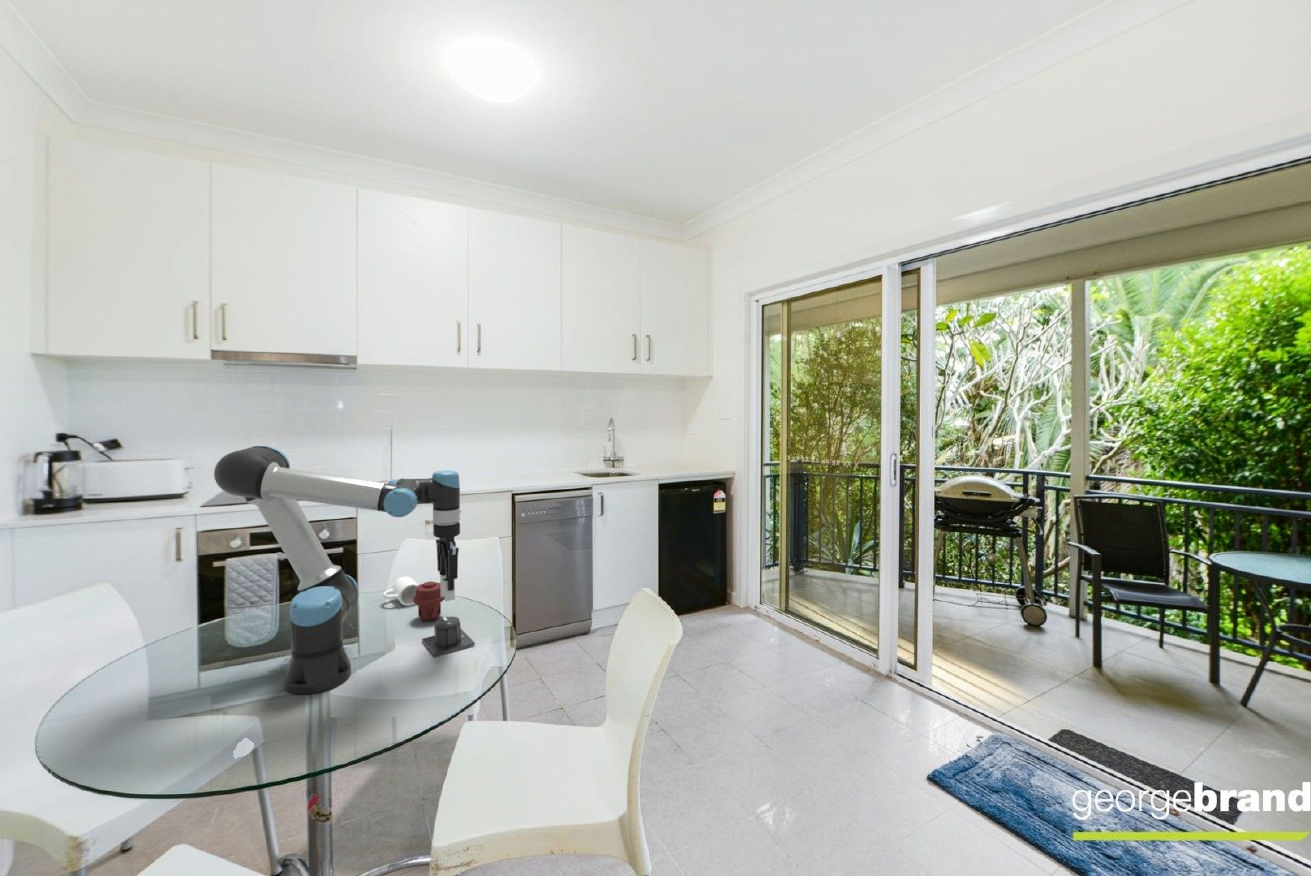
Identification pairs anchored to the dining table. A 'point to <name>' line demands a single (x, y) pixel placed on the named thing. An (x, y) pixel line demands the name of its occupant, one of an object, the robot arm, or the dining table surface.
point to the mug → (403, 591)
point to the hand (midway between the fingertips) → (447, 597)
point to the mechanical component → (428, 601)
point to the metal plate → (441, 650)
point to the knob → (447, 631)
